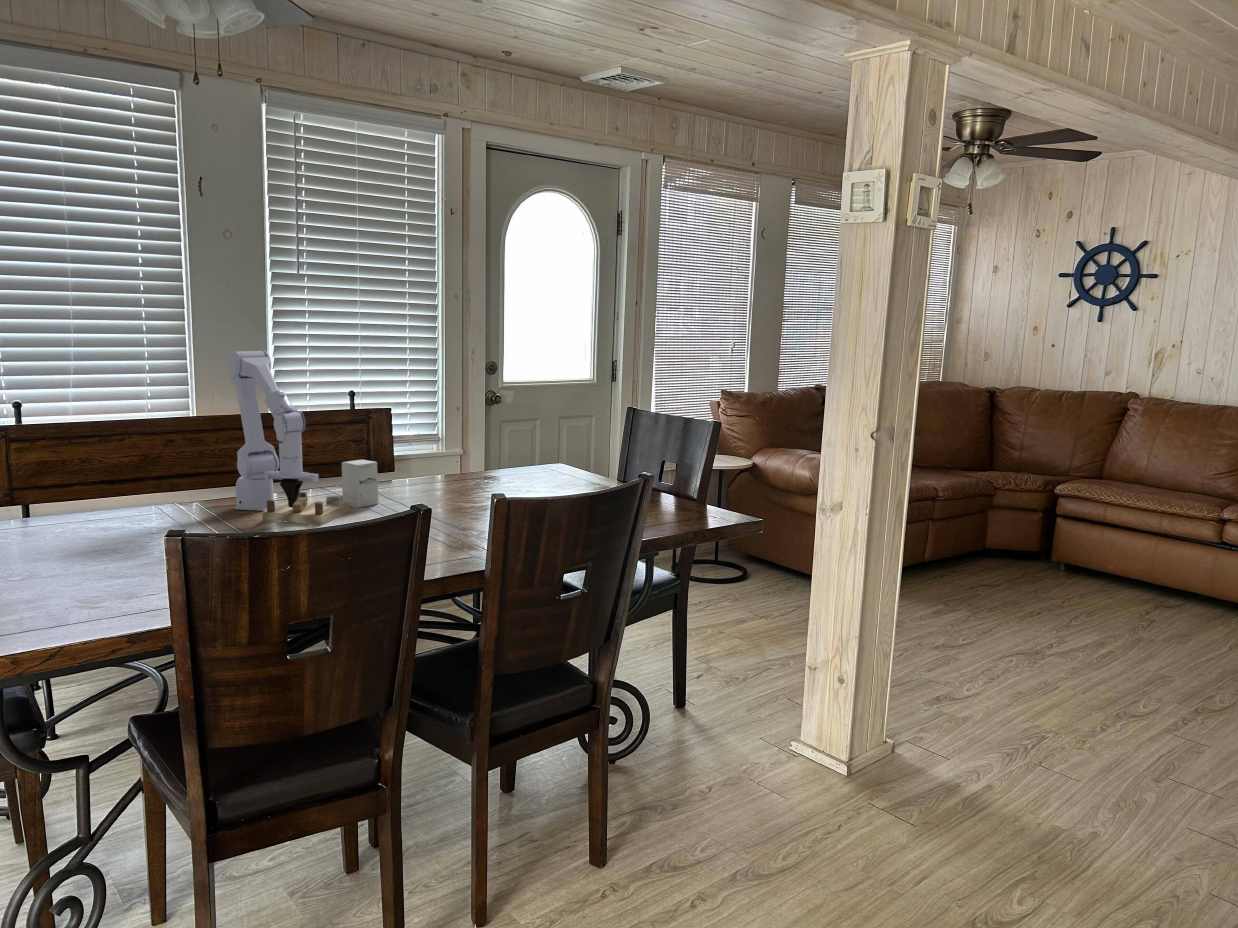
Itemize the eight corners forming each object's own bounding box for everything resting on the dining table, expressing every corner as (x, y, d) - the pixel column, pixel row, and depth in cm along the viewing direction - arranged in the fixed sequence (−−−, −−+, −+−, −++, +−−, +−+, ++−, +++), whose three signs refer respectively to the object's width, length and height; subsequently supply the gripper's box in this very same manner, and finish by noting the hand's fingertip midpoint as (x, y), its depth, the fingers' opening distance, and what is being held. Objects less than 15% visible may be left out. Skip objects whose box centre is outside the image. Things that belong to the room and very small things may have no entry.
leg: (300, 502, 251) (300, 492, 251) (308, 502, 252) (307, 492, 251) (293, 511, 241) (292, 500, 240) (300, 511, 241) (300, 500, 240)
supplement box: (358, 508, 258) (356, 464, 256) (342, 504, 263) (340, 461, 260) (379, 504, 264) (377, 461, 262) (363, 500, 268) (361, 458, 266)
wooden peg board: (262, 521, 242) (261, 500, 241) (293, 508, 257) (292, 489, 256) (322, 524, 239) (321, 504, 238) (349, 511, 254) (349, 492, 253)
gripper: (257, 457, 239) (259, 508, 241) (308, 460, 237) (310, 511, 239) (271, 453, 246) (274, 502, 248) (321, 456, 244) (323, 505, 246)
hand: (292, 506), depth 244 cm, fingers closed, pressing on leg
